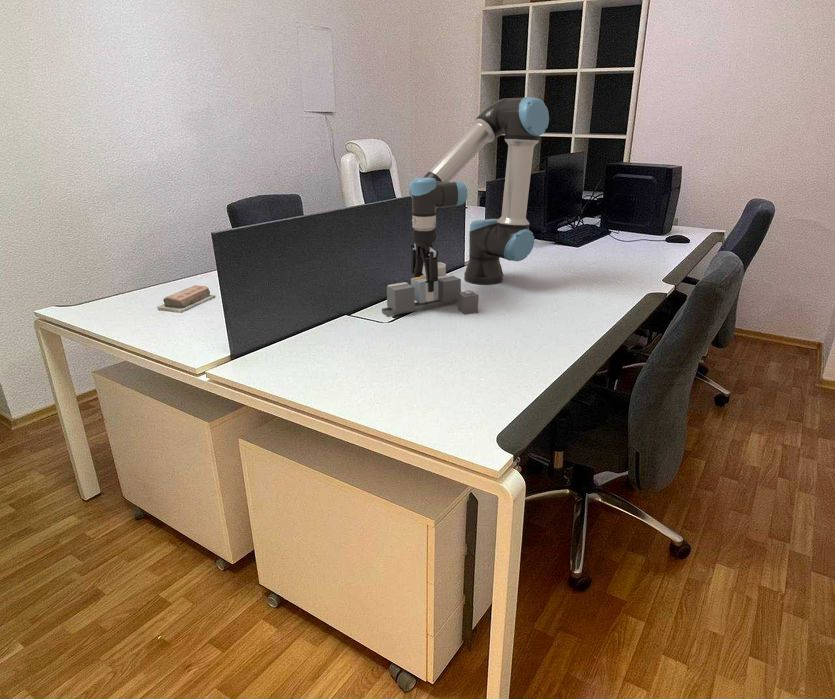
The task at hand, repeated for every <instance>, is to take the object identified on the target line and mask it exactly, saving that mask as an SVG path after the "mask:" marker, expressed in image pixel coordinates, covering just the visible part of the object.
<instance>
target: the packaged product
mask: <svg viewBox="0 0 835 699" xmlns="http://www.w3.org/2000/svg"><path fill="white" fill-rule="evenodd" d="M215 298H216V295H215V294H214V295H213V294H211V291H210V289H209V287H208V286H206V285H193V286H190V287H188V288H184V289H182V290H180V291H177V292H175V293H173V294H170V295H167V296H165V297H164V298H163V303H164V304H163V303H162V304H160V305H158V306H157V307H156V308H157V310H158V311H164V312H173V313H180V314H182V313H184V312H187V311H188V310H190V309H193V308H196V307H198V306H200V305H203V304H204V303H206V302H208V301H210V300H213V299H215Z"/></svg>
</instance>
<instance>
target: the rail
mask: <svg viewBox="0 0 835 699" xmlns="http://www.w3.org/2000/svg"><path fill="white" fill-rule="evenodd" d="M454 304H458V300H452V301H447V302H442V301H440V300H435V301H430V302H424V303H419V302H417V301H415V308H410V309H405V310H400V311H394V310H393V309H391V308H389V307H388V306H386V307H382V308H381V313H382V314H383V315H384V316H386V317H392V316H397V315H402V314H403V315H404V314H407V313H413V312H417V311H423V310H427V309H434V308H438V307H443V306H448V305H454Z"/></svg>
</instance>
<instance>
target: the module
mask: <svg viewBox="0 0 835 699" xmlns="http://www.w3.org/2000/svg"><path fill="white" fill-rule="evenodd" d="M425 281H427V278H426V276H422V277H416V278H415V277H411V278H410V285H411V286H413V287H414V295H415V302H419V303H424V302H426V301H425ZM435 300H438V281H435V282H434V300H433V301H435ZM428 302H430V301H428Z"/></svg>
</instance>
